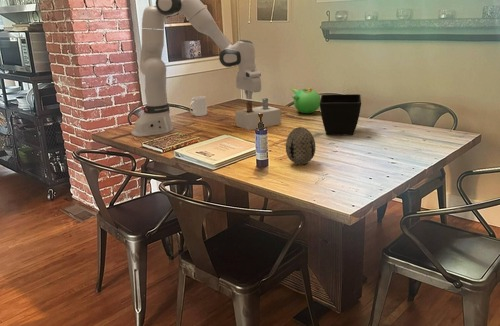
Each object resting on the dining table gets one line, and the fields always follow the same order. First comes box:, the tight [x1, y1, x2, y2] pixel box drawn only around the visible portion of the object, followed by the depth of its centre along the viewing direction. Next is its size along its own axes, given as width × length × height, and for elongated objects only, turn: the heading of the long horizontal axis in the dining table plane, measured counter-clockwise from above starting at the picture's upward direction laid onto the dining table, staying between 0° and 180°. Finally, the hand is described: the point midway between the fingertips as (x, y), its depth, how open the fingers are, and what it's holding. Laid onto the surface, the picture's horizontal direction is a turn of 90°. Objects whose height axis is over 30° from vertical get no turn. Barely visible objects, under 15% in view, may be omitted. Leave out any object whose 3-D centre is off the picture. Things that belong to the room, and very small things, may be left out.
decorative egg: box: [285, 126, 316, 165], centre depth 180 cm, size 12×12×15 cm
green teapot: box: [291, 87, 321, 114], centre depth 266 cm, size 18×17×15 cm
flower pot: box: [319, 93, 362, 136], centre depth 221 cm, size 19×19×17 cm
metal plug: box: [262, 97, 269, 110], centre depth 247 cm, size 3×3×9 cm
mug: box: [189, 95, 208, 117], centre depth 277 cm, size 9×12×11 cm
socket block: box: [234, 105, 282, 131], centre depth 246 cm, size 20×14×8 cm
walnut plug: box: [245, 100, 253, 113], centre depth 242 cm, size 3×3×9 cm
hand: (248, 98), depth 240 cm, fingers closed
